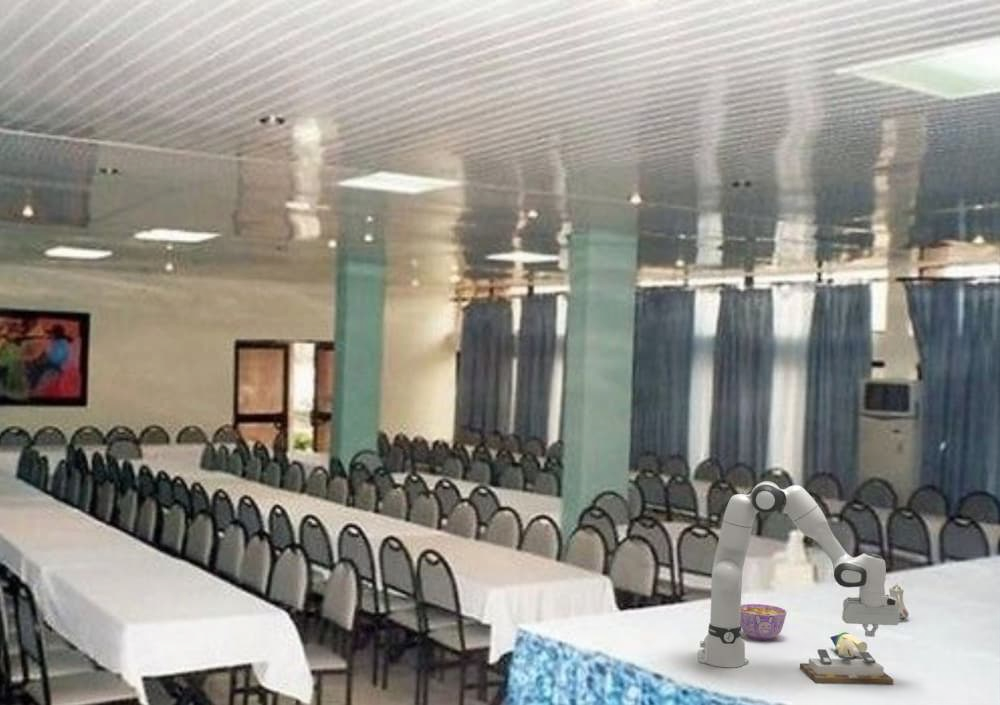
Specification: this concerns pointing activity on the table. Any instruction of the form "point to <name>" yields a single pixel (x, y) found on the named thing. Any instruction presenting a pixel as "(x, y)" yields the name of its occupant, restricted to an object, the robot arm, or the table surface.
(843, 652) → the cartoon head
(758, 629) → the bowl of food
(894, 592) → the chinaware
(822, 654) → the block
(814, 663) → the switch housing
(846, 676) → the chart board
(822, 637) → the table surface
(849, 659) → the rocker
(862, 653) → the block
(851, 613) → the robot arm
